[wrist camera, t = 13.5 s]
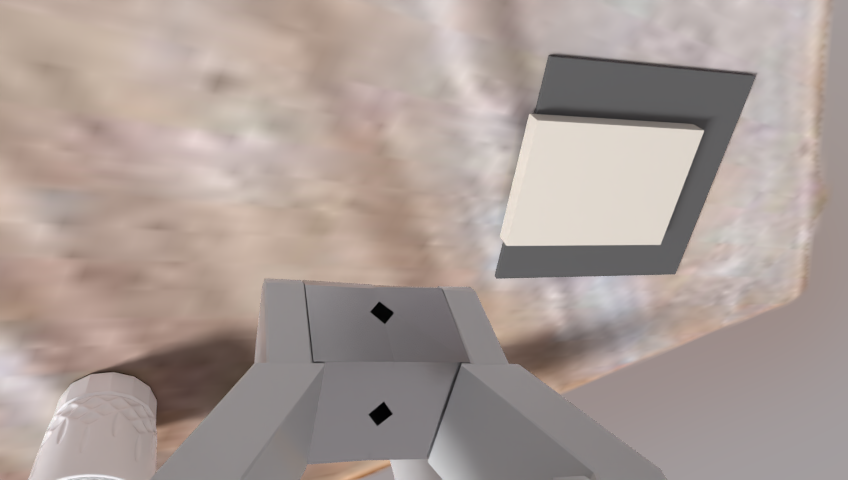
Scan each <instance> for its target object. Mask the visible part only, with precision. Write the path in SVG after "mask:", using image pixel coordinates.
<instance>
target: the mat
mask: <svg viewBox="0 0 848 480" xmlns="http://www.w3.org/2000/svg"><path fill="white" fill-rule="evenodd" d="M754 79H755V76H754V75H749V74H739V73H728V72H718V71H708V70H697V69H687V68H676V67H666V66H655V65H645V64H635V63H624V62H614V61H603V60H593V59H583V58H572V57H562V56H551V55H549V56H548V60H547V65H546V69H545V73H544V77H543V81H542V85H541V89H540V93H539V97H538V101H537V105H536V110H535V114H545V115H560V116H576V117H592V118H607V119H623V120H639V121H654V122H670V123H686V124H694V125H696V126H697V127H699V128H701V129H703V130H704V133H703V136H702V138H701V141H700V143H699V146H698V149H697V151H696V154H695V156H694V159H693V162H692V164H691V167H690V169H689V172H688V175H687V177H686V180H685V182H684V185H683V188H682V190H681V193H680V196H679V198H678V201H677V203H676V206H675V209H674V211H673V214H672V216H671V219H670V222H669V224H668V227H667V229H666V232H665V235H664V237H663V240H662V242H661V245H568V246H506V245H505V243H504V242H503V244H502V249H501V253H500V257H499V261H498V265H497V269H496V273H495V277H496V278H537V277H578V276H620V275H661V274H675V273H676V271H677V268H678V266H679V263H680V261H681V259H682V256H683V254H684V251H685V249H686V246H687V244H688V241H689V239H690V236H691V234H692V231H693V229H694V227H695V224H696V222H697V219H698V217H699V214H700V212H701V209H702V207H703V204H704V202H705V199H706V197H707V195H708V192H709V190H710V187H711V185H712V182H713V180H714V177H715V175H716V172H717V170H718V167H719V165H720V163H721V160H722V158H723V155H724V153H725V150H726V148H727V145H728V143H729V140H730V138H731V136H732V133H733V131H734V128H735V126H736V123H737V121H738V118H739V116H740V113H741V111H742V108H743V106H744V104H745V101H746V99H747V96H748V94H749V91H750V89H751V86H752V84H753V81H754Z"/></svg>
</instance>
